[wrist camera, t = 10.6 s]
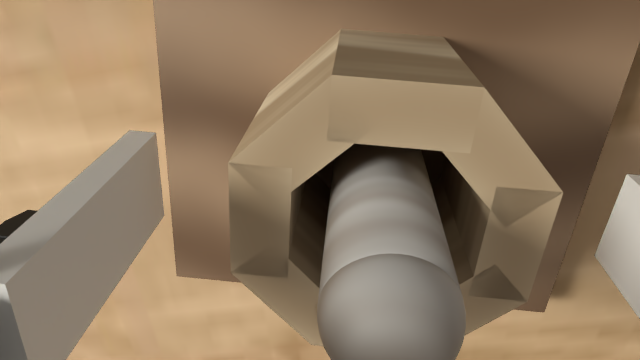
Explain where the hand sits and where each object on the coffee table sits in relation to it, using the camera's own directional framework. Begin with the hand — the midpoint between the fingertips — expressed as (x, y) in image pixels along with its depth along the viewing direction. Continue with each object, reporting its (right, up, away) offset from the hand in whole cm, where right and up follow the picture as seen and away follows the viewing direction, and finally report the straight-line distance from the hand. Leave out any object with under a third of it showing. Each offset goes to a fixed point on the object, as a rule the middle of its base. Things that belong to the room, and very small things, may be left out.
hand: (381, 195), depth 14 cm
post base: (0, +2, +5) cm, 6 cm away
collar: (0, +2, +4) cm, 4 cm away
